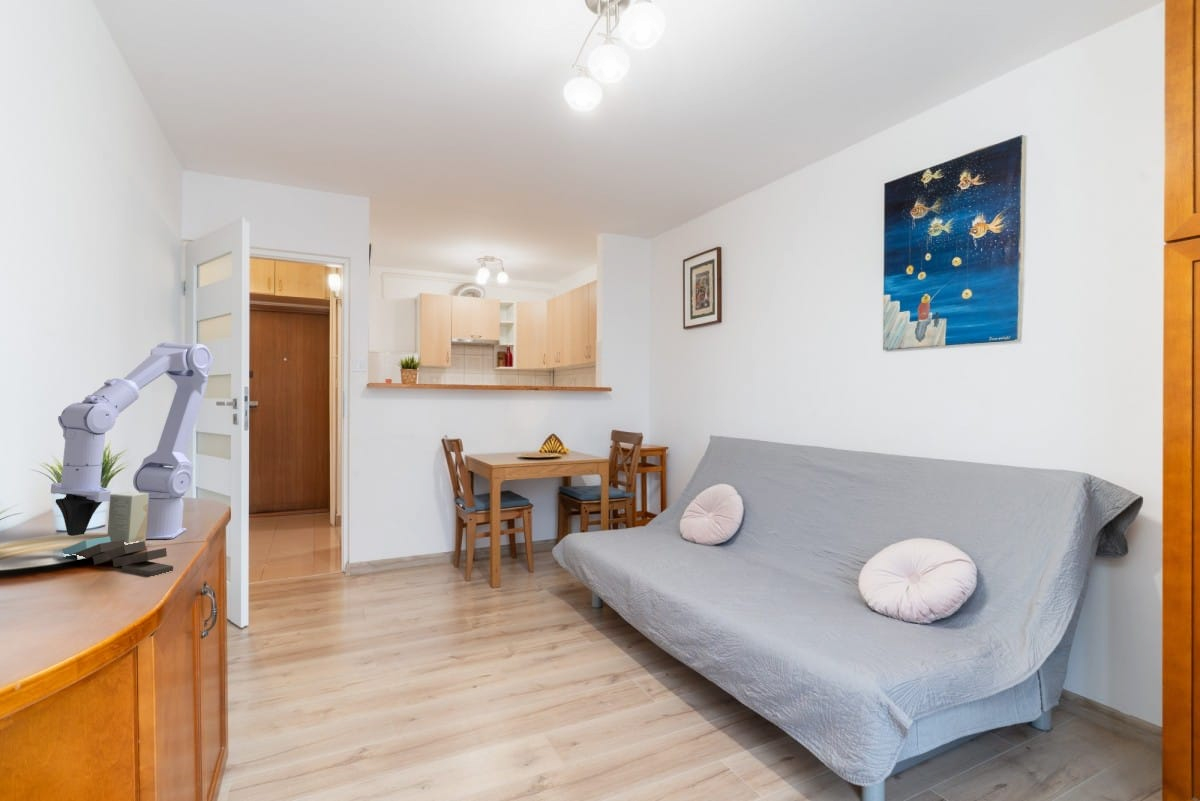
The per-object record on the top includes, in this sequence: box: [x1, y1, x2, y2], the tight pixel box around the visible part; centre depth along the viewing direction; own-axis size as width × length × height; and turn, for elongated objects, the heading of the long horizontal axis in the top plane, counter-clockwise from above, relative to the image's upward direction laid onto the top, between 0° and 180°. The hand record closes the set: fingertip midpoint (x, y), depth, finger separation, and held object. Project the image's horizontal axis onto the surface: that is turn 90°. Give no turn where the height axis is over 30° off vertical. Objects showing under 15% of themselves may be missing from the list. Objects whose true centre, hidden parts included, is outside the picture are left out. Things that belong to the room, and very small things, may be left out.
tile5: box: [121, 560, 174, 577], centre depth 105 cm, size 2×4×7 cm
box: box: [106, 491, 149, 545], centre depth 119 cm, size 5×4×11 cm
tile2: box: [76, 540, 125, 559], centre depth 108 cm, size 2×4×7 cm
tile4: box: [112, 547, 168, 568], centre depth 107 cm, size 2×4×7 cm
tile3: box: [92, 541, 147, 565], centre depth 107 cm, size 2×4×7 cm
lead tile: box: [61, 536, 111, 555], centre depth 110 cm, size 2×4×7 cm
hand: (76, 534), depth 111 cm, fingers closed
